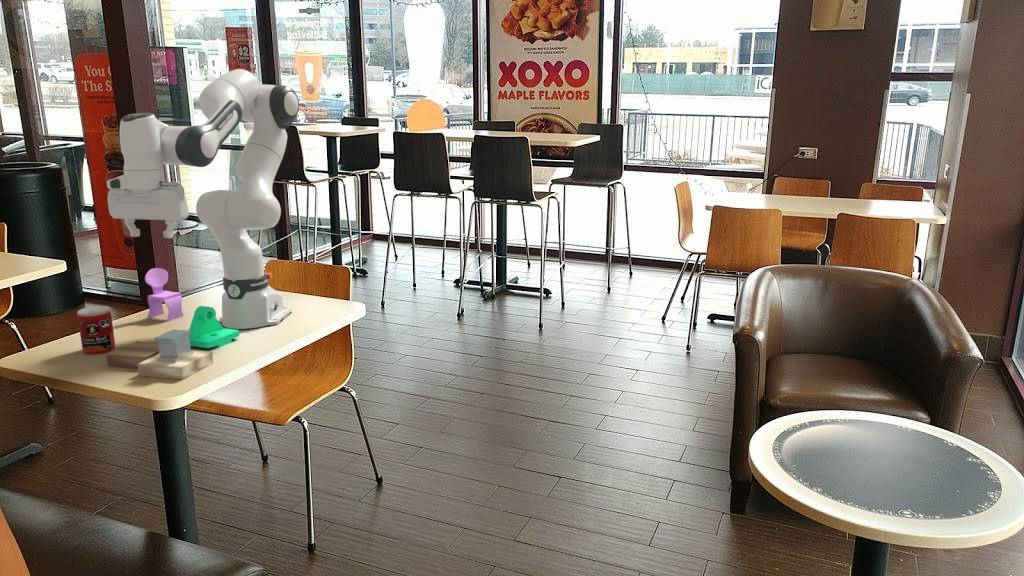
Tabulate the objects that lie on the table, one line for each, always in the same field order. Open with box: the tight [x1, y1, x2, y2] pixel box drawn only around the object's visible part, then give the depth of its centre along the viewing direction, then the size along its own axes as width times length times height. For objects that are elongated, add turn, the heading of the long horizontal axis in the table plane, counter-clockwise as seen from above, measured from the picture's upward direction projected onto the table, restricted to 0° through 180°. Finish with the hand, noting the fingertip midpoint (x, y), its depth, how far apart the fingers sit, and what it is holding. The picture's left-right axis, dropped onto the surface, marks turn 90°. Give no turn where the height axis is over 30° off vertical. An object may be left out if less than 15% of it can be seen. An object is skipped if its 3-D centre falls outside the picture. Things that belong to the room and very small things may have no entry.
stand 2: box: [137, 349, 214, 381], centre depth 188 cm, size 12×12×3 cm
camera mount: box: [188, 305, 240, 349], centre depth 207 cm, size 12×8×10 cm, turn 157°
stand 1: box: [105, 340, 159, 369], centre depth 195 cm, size 11×11×3 cm
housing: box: [154, 329, 194, 363], centre depth 187 cm, size 5×7×6 cm
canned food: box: [76, 305, 116, 355], centre depth 202 cm, size 8×8×11 cm
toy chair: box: [144, 267, 184, 322], centre depth 232 cm, size 8×9×15 cm
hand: (151, 237), depth 191 cm, fingers open, 8 cm apart
